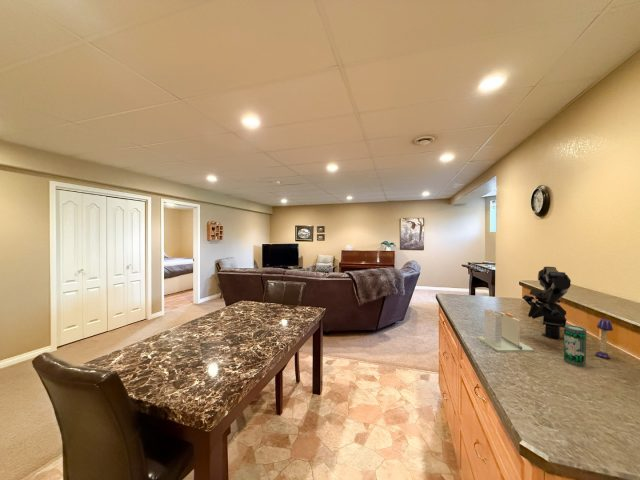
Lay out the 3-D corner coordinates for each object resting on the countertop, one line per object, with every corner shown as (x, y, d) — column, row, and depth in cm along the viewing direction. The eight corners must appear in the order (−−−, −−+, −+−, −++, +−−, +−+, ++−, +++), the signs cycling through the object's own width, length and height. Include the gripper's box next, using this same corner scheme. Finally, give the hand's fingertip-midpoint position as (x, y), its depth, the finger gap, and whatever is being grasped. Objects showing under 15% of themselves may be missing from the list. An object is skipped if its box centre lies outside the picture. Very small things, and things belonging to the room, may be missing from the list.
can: (561, 360, 106) (562, 326, 106) (568, 357, 109) (569, 324, 108) (580, 367, 101) (581, 331, 100) (587, 364, 103) (588, 329, 103)
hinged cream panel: (500, 336, 128) (500, 309, 128) (520, 347, 116) (520, 318, 115) (498, 336, 128) (499, 309, 128) (518, 347, 116) (518, 318, 115)
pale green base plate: (509, 337, 129) (509, 333, 129) (534, 351, 114) (534, 346, 114) (477, 338, 129) (477, 333, 129) (497, 352, 114) (497, 347, 114)
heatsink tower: (493, 339, 126) (493, 309, 125) (504, 346, 118) (505, 315, 117) (484, 339, 126) (484, 309, 125) (495, 346, 118) (495, 315, 117)
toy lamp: (606, 355, 111) (607, 318, 110) (615, 360, 106) (616, 322, 106) (592, 353, 112) (593, 317, 112) (600, 358, 108) (601, 320, 107)
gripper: (526, 279, 130) (505, 300, 131) (560, 287, 112) (535, 312, 112) (540, 294, 131) (519, 315, 131) (577, 304, 112) (552, 328, 112)
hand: (530, 317), depth 121 cm, fingers closed
